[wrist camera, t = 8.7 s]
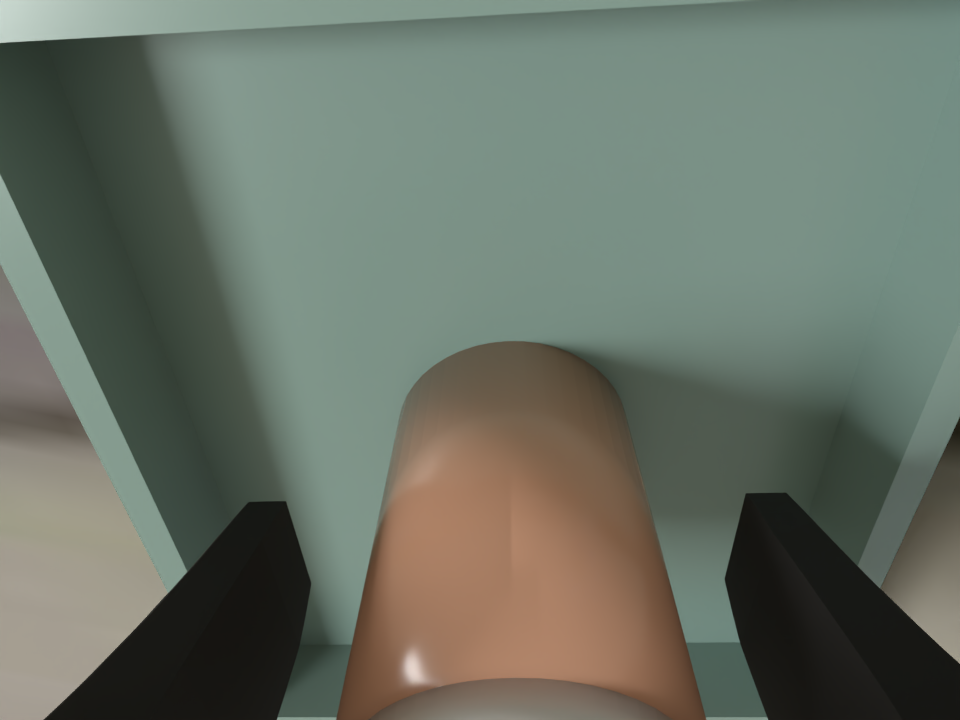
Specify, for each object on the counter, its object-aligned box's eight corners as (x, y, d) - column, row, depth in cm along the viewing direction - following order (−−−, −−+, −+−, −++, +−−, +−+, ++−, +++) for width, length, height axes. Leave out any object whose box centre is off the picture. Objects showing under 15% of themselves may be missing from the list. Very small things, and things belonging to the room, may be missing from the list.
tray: (1024, -86, 8) (1196, -93, 6) (776, 634, 17) (814, 730, 15) (5, -24, 9) (-141, -11, 7) (268, 638, 18) (238, 730, 16)
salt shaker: (635, 336, 11) (775, 750, 6) (620, 514, 14) (706, 926, 8) (382, 346, 12) (266, 751, 6) (412, 520, 14) (353, 922, 8)
